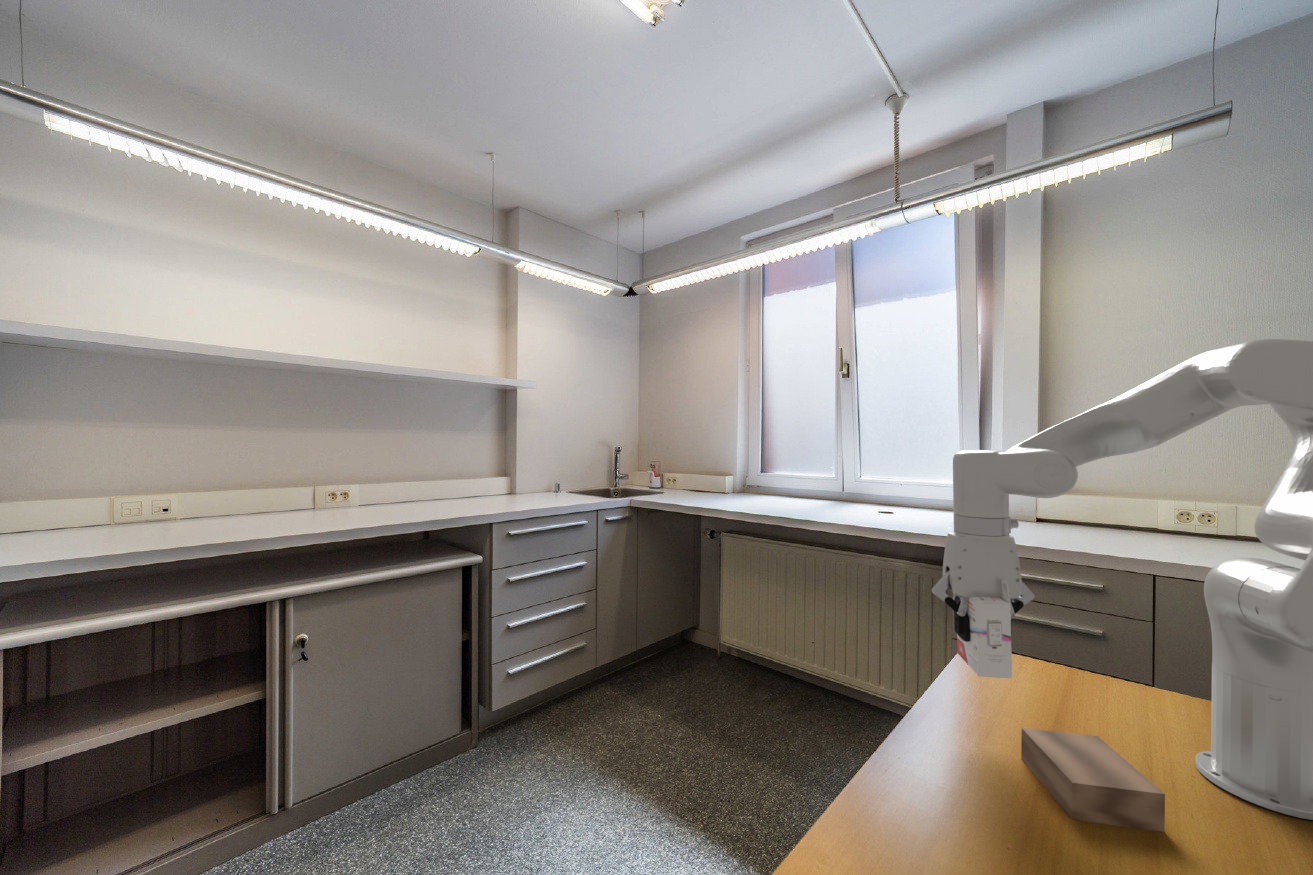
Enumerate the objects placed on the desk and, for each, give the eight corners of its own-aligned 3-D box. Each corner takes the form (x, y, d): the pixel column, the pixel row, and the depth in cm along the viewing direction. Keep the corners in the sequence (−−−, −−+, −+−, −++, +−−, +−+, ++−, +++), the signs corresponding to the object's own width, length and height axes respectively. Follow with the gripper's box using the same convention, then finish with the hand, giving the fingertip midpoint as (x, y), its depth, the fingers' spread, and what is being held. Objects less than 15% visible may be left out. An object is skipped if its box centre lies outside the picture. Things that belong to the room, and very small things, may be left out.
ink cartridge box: (955, 653, 84) (953, 567, 84) (987, 655, 83) (986, 568, 83) (977, 677, 76) (976, 581, 76) (1013, 679, 75) (1012, 582, 75)
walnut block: (1097, 769, 72) (1097, 735, 72) (1164, 834, 61) (1165, 793, 61) (1021, 760, 74) (1021, 727, 74) (1072, 821, 63) (1072, 782, 63)
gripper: (1026, 523, 82) (1028, 633, 81) (916, 521, 85) (917, 627, 84) (1054, 531, 74) (1056, 652, 74) (932, 529, 77) (934, 645, 77)
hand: (982, 638), depth 79 cm, fingers closed on ink cartridge box, 5 cm apart
